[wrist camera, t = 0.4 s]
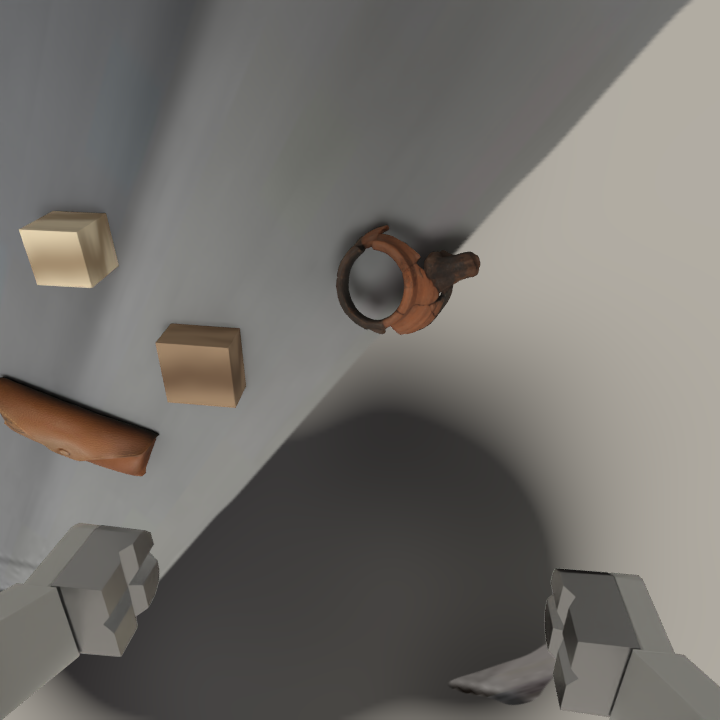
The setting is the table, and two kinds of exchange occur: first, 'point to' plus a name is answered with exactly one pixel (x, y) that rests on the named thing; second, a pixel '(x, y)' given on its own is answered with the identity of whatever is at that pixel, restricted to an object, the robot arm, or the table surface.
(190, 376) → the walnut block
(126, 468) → the sunglasses case
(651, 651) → the robot arm
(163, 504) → the table surface
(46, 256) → the beech block
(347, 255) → the brown piece
